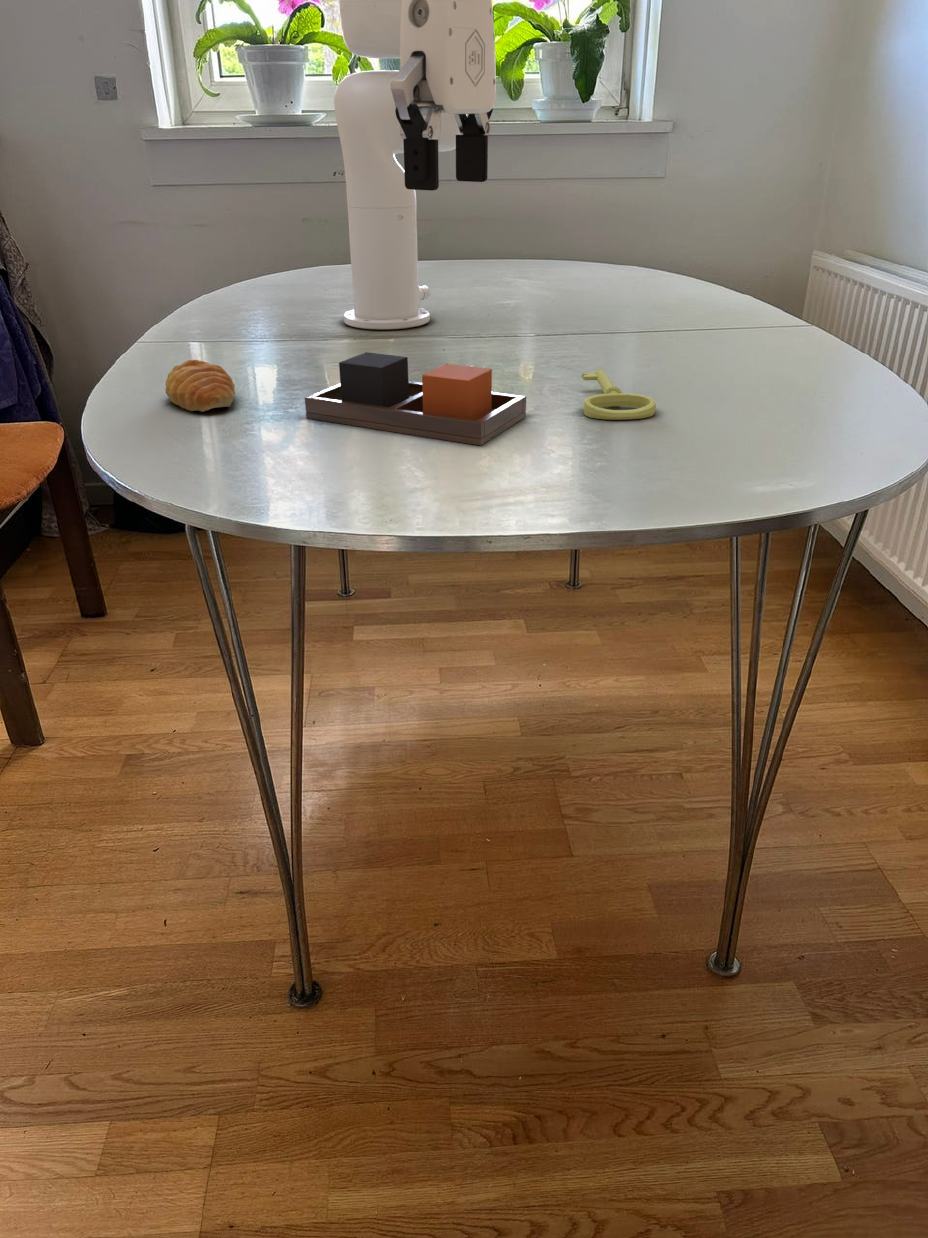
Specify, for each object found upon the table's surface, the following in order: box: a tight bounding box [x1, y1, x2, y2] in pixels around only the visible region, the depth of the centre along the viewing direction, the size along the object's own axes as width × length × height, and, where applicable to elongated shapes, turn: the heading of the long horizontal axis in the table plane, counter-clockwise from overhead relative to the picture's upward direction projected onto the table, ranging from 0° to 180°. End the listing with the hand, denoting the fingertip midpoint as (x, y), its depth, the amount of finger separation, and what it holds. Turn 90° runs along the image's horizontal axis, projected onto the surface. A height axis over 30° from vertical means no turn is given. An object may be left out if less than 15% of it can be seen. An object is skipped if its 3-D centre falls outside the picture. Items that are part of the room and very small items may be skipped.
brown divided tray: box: [304, 380, 527, 446], centre depth 91 cm, size 10×20×2 cm, turn 63°
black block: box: [338, 351, 409, 408], centre depth 92 cm, size 5×5×4 cm
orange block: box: [421, 363, 493, 420], centre depth 88 cm, size 5×5×4 cm
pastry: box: [165, 359, 236, 413], centre depth 96 cm, size 9×7×4 cm
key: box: [581, 368, 657, 421], centre depth 95 cm, size 7×12×2 cm, turn 23°
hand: (447, 184), depth 85 cm, fingers open, 9 cm apart
